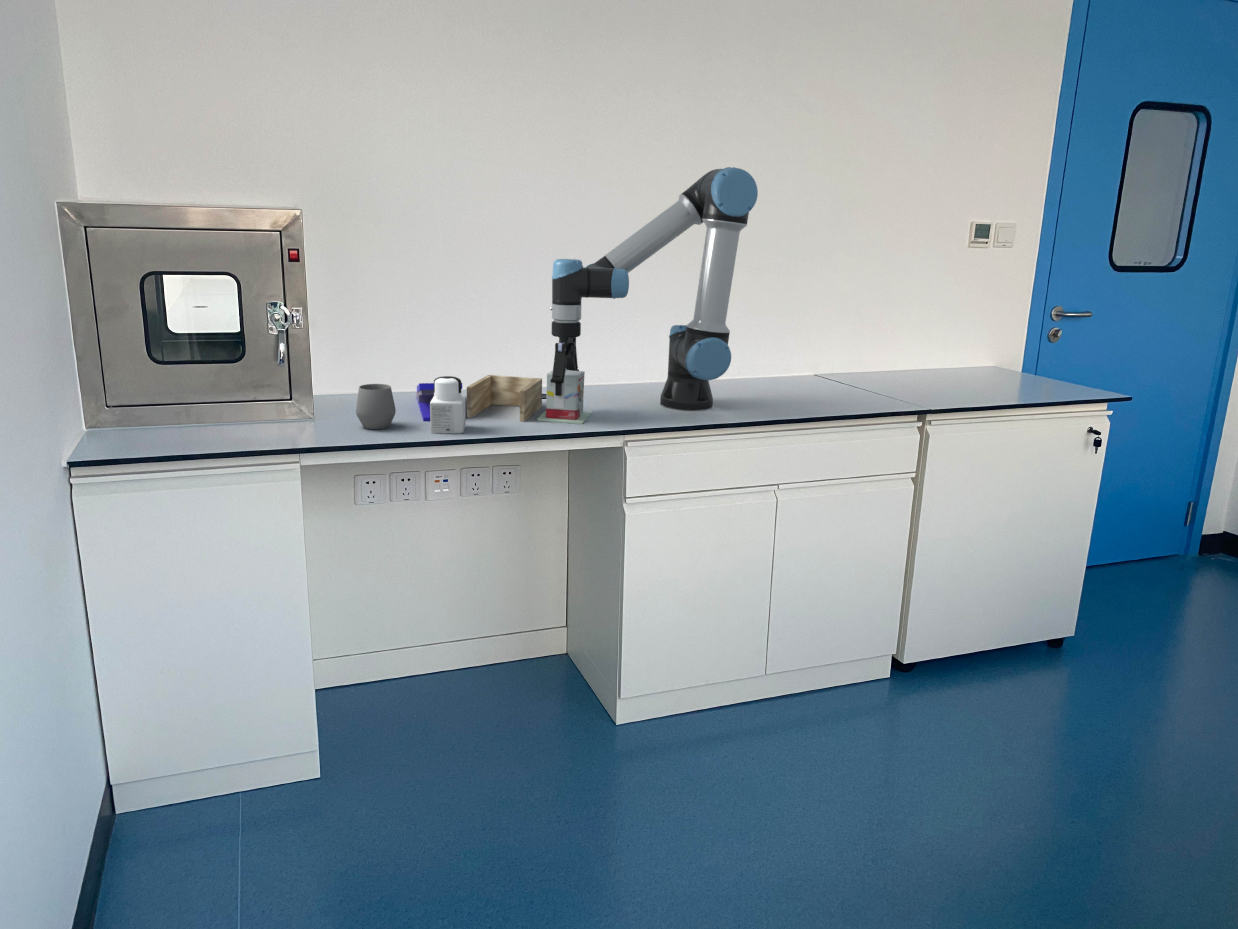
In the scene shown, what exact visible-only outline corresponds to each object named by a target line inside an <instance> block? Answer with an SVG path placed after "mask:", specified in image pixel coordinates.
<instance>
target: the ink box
mask: <svg viewBox="0 0 1238 929" xmlns="http://www.w3.org/2000/svg"><path fill="white" fill-rule="evenodd" d="M585 373H586V372H585V371H583V370H582V371H581V370H579V371H572V370H566V372H565V377H564V383H565V407H564V408H554V383H551V379H552V374H553V370H551V371H548V373H546V396H545V397H546V400H545V402H546V403H545V406H546V407H545V412H546V418H556V419H570V420H577V419H578V418H579V417H580V416H581V415H582V414H583V412H584V390H585Z"/></svg>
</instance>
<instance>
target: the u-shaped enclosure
mask: <svg viewBox="0 0 1238 929" xmlns="http://www.w3.org/2000/svg"><path fill="white" fill-rule="evenodd" d="M491 405H495V406H496V405H497V406H509V407H511V406H512V407H519V422H526V421H527V420H528V419H529V418H531V417H532V416H533V415H534V414H535V413H536V412H537V411H539V410H540V409H541V408H543V378H539V377H524V376H511V375H510V376H508V375H496V374H495V375H494V374H487V375H485V376H484V377H482V378H480V379H478V380H477V381H475V382H473V383H471V384H470V385H467V386H466V418H469V419H471V418H473V417H475V416H476V415H477V414H479V413H480V412H482V411H483V410H485V409H487V408H488V407H489V406H491Z"/></svg>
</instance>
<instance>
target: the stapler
mask: <svg viewBox="0 0 1238 929" xmlns="http://www.w3.org/2000/svg"><path fill="white" fill-rule="evenodd" d="M462 389H463V382H461V390H462ZM415 396H416V401H417V404H418V408H419V411H420V415H421V417H422V418H421V419H422V422H430V402H431V400H432V399H433V397H434V382H421V383H418V384H417V385H416V395H415Z"/></svg>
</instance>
